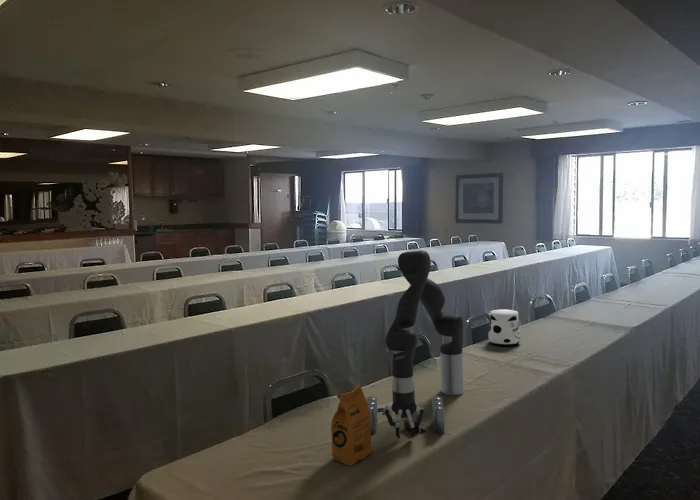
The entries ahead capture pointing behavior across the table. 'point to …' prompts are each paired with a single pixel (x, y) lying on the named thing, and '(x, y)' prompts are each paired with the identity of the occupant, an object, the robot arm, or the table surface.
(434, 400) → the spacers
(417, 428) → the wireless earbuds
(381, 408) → the adjustable wrench
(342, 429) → the coffee package
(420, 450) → the table surface
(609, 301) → the table surface
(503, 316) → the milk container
